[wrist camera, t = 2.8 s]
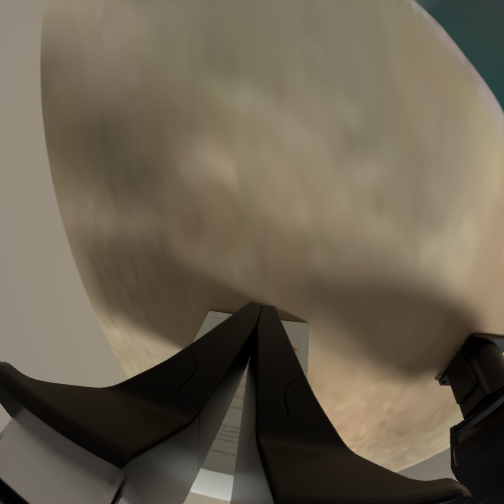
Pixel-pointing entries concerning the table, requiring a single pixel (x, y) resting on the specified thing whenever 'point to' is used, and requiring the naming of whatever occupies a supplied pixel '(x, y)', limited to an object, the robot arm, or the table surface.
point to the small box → (237, 417)
